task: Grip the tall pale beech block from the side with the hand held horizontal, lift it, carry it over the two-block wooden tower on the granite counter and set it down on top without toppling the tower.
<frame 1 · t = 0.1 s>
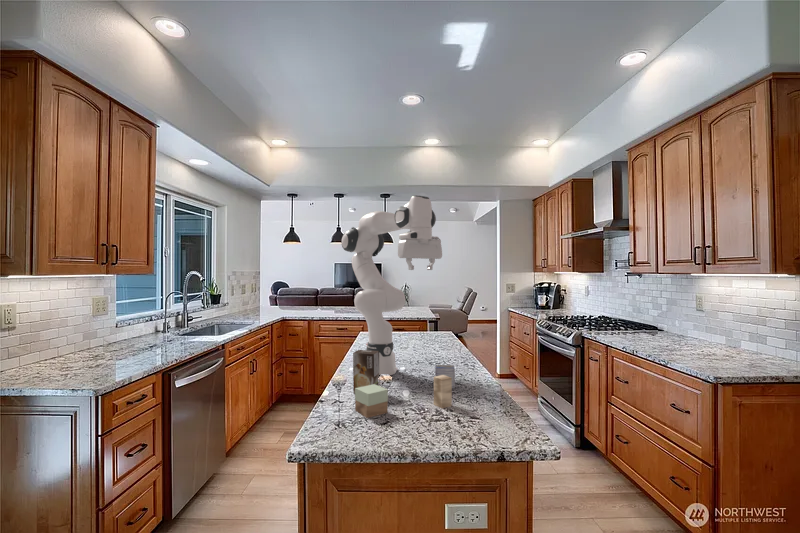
hand: (420, 270, 161), 48 cm above the countertop, tool pointing down, fingers open, 8 cm apart
coffee box: (366, 393, 157), on the countertop
block bottom: (371, 412, 136), on the countertop, touching block top
block top: (371, 400, 136), point 4 cm above the countertop, touching block bottom
medicine box: (444, 387, 164), on the countertop
pillar: (442, 405, 142), on the countertop
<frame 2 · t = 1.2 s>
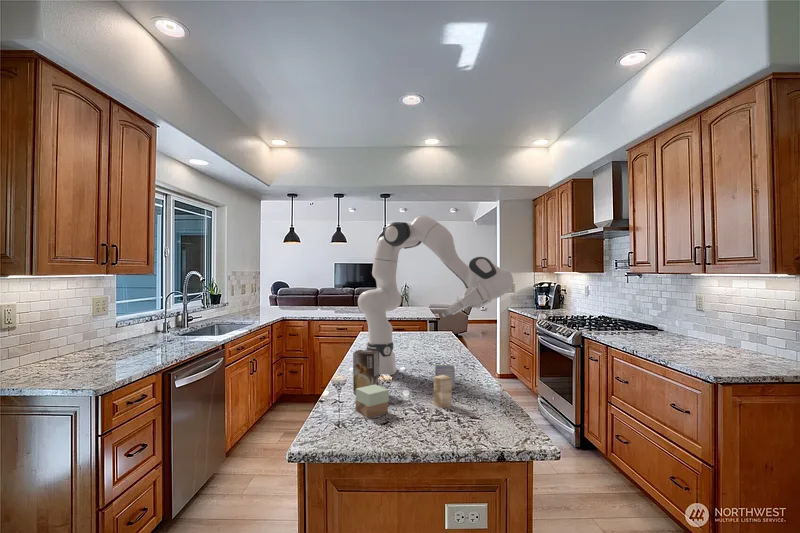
hand: (446, 313, 149), 32 cm above the countertop, tool tilted 65°, fingers open, 8 cm apart
nothing on the countertop moved.
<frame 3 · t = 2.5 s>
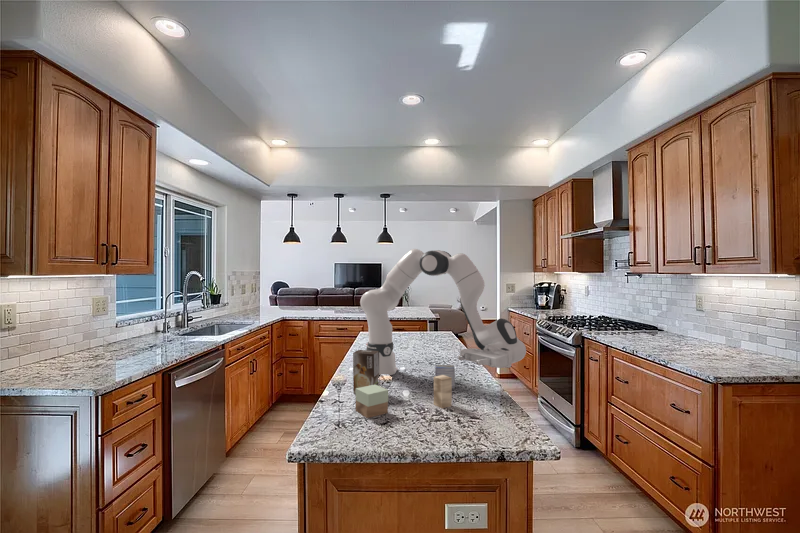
hand: (468, 360, 149), 14 cm above the countertop, tool horizontal, fingers open, 8 cm apart
nothing on the countertop moved.
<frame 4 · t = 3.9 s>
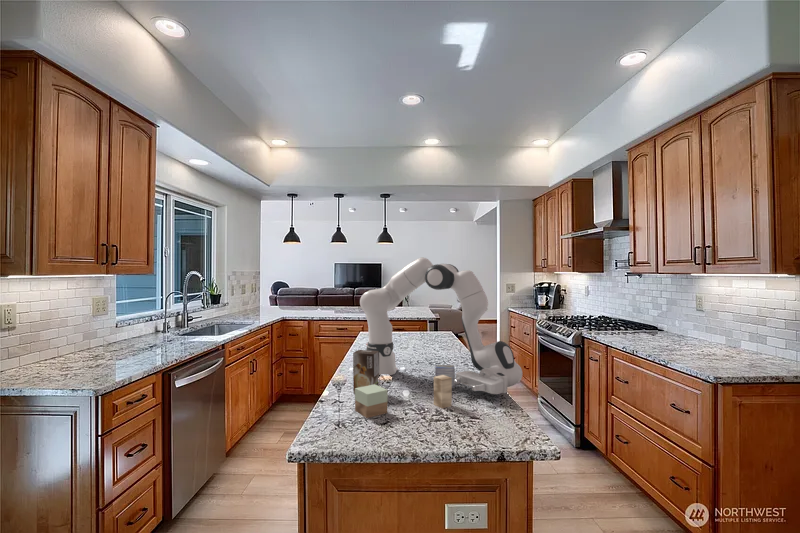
hand: (463, 385, 148), 5 cm above the countertop, tool horizontal, fingers open, 8 cm apart
block bottom: (371, 412, 136), on the countertop
block top: (371, 400, 136), point 4 cm above the countertop
everything else where it was.
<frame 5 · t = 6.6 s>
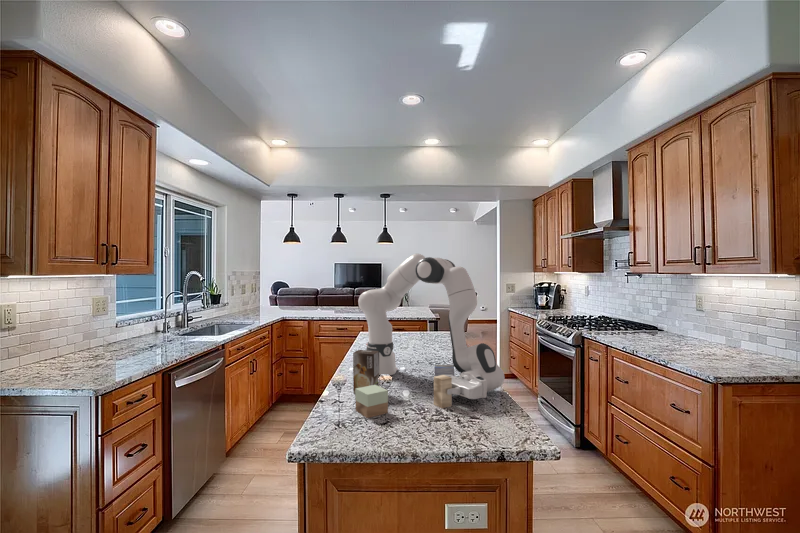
hand: (441, 389, 142), 6 cm above the countertop, tool horizontal, fingers closed on pillar, 4 cm apart
block bottom: (371, 412, 136), on the countertop, touching block top
block top: (371, 401, 136), point 4 cm above the countertop, touching block bottom
medicine box: (444, 387, 164), on the countertop, touching arm
pillar: (442, 405, 142), on the countertop, touching gripper
everything else where it was.
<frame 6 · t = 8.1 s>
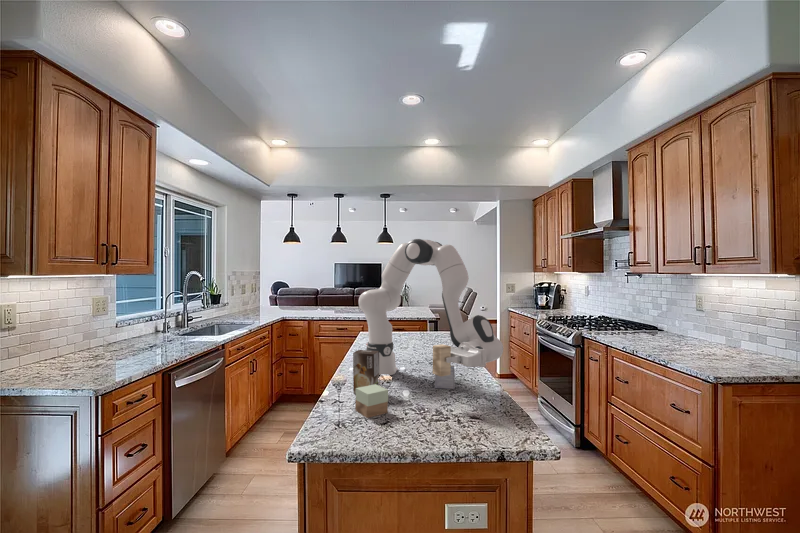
hand: (440, 358, 142), 17 cm above the countertop, tool horizontal, fingers closed on pillar, 4 cm apart
medicine box: (444, 387, 164), on the countertop
pillar: (441, 374, 142), point 11 cm above the countertop, touching gripper
everything else where it was.
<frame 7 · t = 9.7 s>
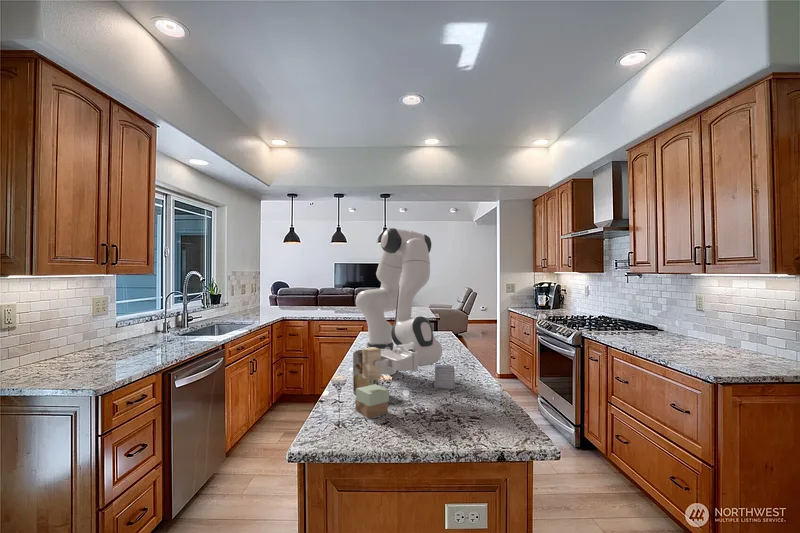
hand: (370, 362, 136), 17 cm above the countertop, tool horizontal, fingers closed on pillar, 4 cm apart
pillar: (371, 378, 136), point 11 cm above the countertop, touching gripper
everything else where it was.
when the fingers open (15 cm above the countertop, at t = 10.5 s): pillar drops 2 cm, resting on block top.
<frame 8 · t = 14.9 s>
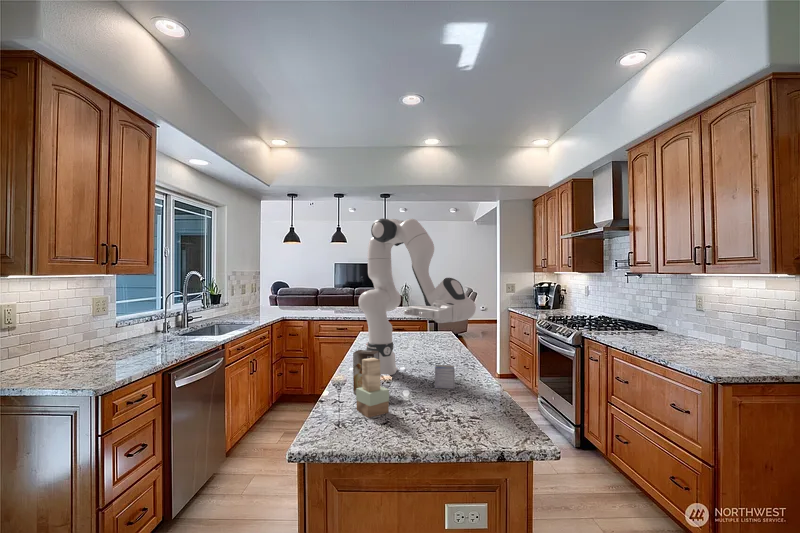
hand: (412, 313, 147), 32 cm above the countertop, tool horizontal, fingers open, 8 cm apart
block top: (372, 400, 136), point 4 cm above the countertop, touching block bottom, pillar
pillar: (371, 389, 136), point 8 cm above the countertop, touching block top
everything else where it was.
at the end: pillar inside the target area on the block top (0.6 cm from its centre), point 4.1 cm above the block top's base; pillar tilted 1°; block top moved 0.6 cm from its start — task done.
